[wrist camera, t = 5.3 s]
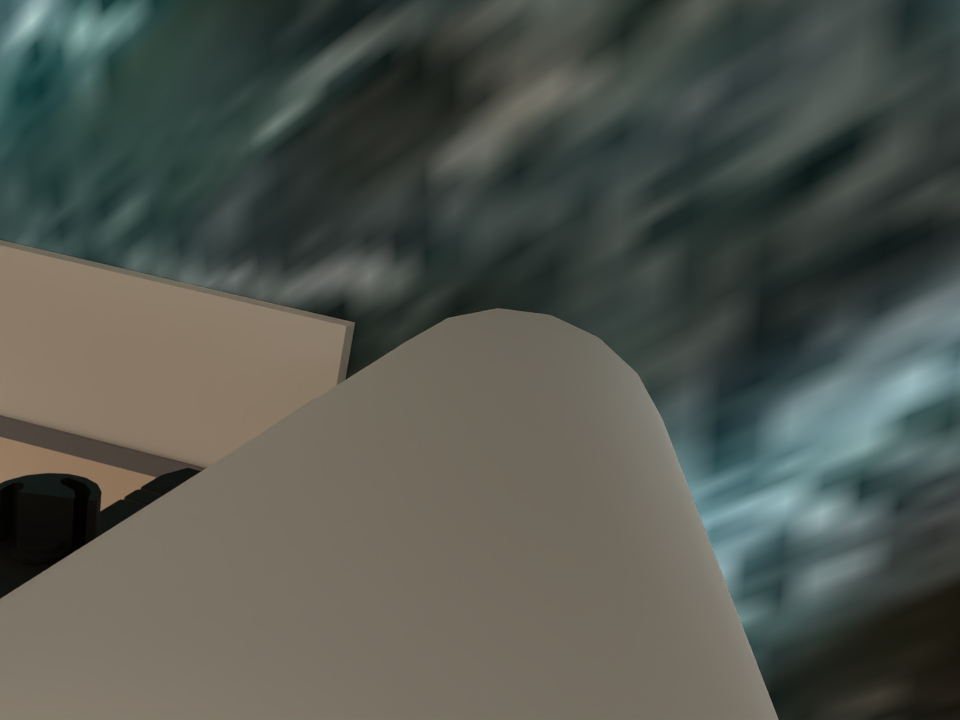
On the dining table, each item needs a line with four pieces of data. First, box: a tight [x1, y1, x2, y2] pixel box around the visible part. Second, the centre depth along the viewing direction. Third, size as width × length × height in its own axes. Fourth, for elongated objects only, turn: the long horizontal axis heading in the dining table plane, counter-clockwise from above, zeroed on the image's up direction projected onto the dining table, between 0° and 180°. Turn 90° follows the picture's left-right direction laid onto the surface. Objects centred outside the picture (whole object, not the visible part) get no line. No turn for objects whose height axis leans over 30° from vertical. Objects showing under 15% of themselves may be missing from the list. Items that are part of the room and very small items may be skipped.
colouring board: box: [0, 240, 355, 511], centre depth 26 cm, size 22×16×1 cm
